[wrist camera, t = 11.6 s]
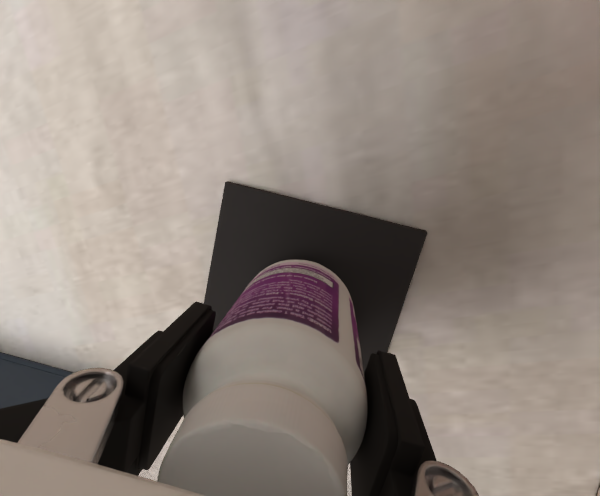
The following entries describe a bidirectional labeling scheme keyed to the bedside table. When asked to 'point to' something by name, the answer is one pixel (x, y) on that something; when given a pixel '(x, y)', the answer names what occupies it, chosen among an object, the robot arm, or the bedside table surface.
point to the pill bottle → (274, 392)
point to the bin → (26, 380)
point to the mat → (315, 255)
